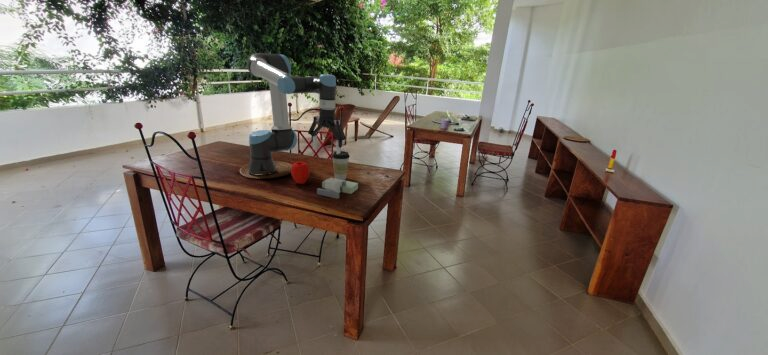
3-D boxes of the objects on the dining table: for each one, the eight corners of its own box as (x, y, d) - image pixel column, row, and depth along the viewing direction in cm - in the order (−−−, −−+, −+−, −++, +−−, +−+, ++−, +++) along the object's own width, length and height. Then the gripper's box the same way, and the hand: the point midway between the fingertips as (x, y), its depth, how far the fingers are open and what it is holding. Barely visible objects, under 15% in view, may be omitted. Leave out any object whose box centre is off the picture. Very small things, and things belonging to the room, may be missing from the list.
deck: (312, 193, 166) (312, 182, 164) (329, 182, 180) (330, 173, 178) (342, 200, 160) (342, 189, 158) (357, 188, 175) (358, 178, 173)
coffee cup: (346, 182, 182) (346, 156, 177) (329, 180, 184) (329, 154, 179) (351, 176, 191) (351, 151, 186) (335, 174, 193) (335, 150, 188)
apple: (288, 181, 179) (287, 160, 175) (305, 178, 184) (304, 157, 180) (295, 187, 171) (294, 165, 167) (312, 184, 177) (312, 162, 173)
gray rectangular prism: (330, 190, 170) (330, 177, 168) (340, 192, 168) (340, 179, 166) (325, 194, 165) (325, 181, 163) (334, 196, 164) (334, 183, 161)
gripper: (300, 105, 158) (301, 148, 166) (346, 113, 150) (344, 157, 158) (309, 104, 165) (309, 145, 173) (354, 110, 157) (352, 153, 164)
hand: (326, 151), depth 165 cm, fingers open, 13 cm apart
